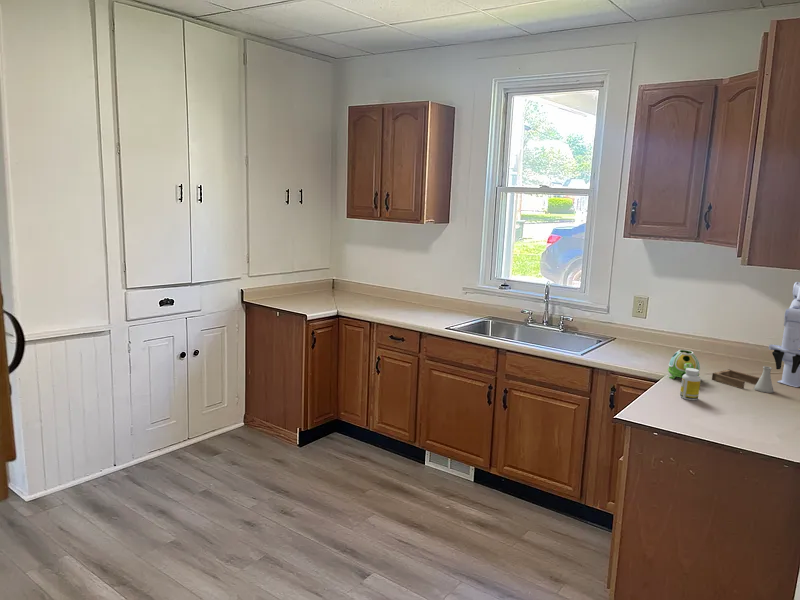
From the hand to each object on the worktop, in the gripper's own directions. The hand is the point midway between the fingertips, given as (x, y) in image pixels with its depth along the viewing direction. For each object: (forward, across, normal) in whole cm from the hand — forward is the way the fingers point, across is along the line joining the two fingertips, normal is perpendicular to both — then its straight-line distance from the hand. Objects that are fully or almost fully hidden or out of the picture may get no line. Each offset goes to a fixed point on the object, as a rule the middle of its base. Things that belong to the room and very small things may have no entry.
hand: (785, 370), depth 238 cm
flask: (+11, -7, 0) cm, 13 cm away
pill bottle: (+11, -16, -39) cm, 43 cm away
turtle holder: (+11, -32, -17) cm, 38 cm away
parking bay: (+10, -19, 0) cm, 22 cm away
